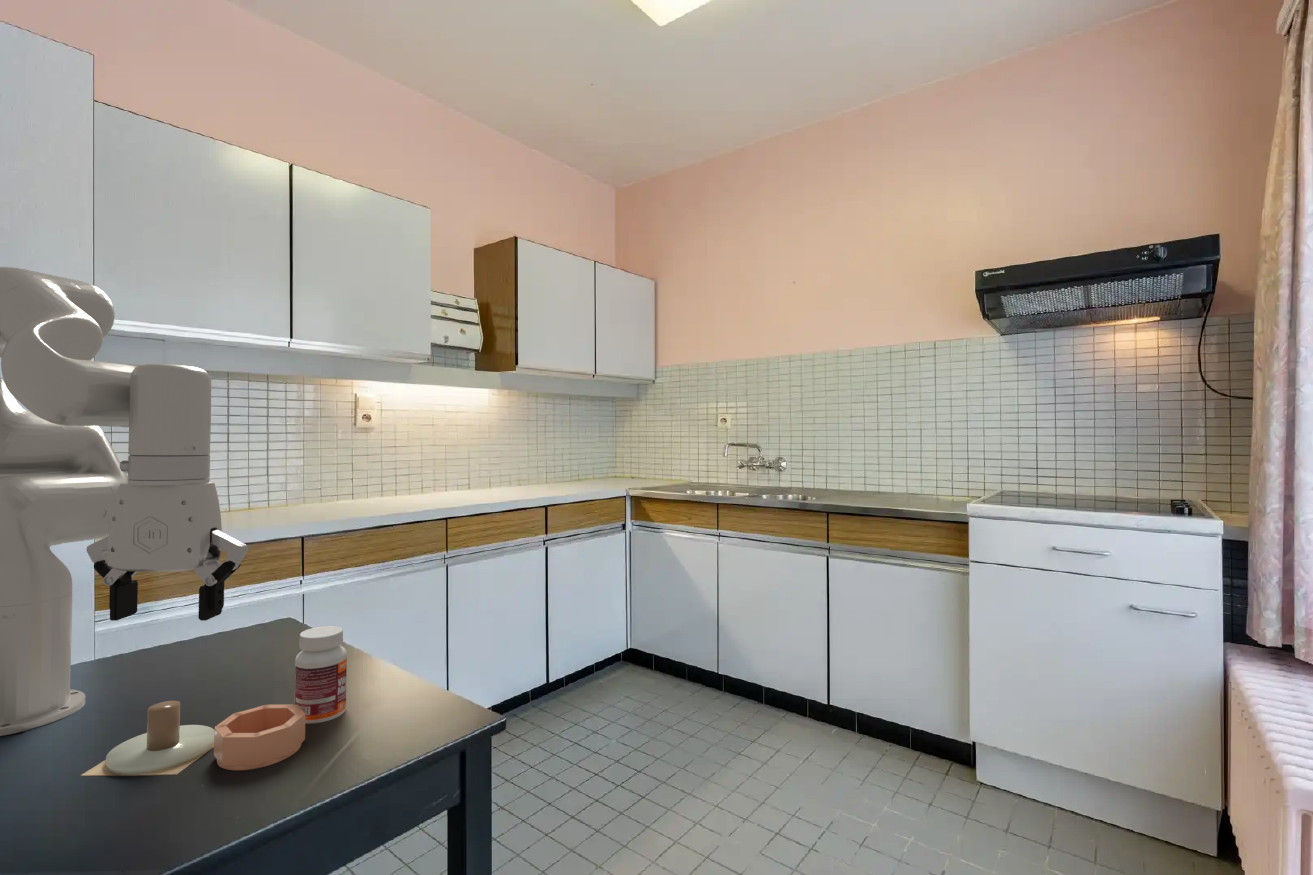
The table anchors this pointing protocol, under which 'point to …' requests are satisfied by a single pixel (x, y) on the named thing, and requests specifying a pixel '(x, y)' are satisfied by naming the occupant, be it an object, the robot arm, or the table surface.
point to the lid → (160, 743)
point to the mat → (102, 771)
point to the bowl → (259, 736)
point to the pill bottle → (321, 674)
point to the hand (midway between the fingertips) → (167, 617)
